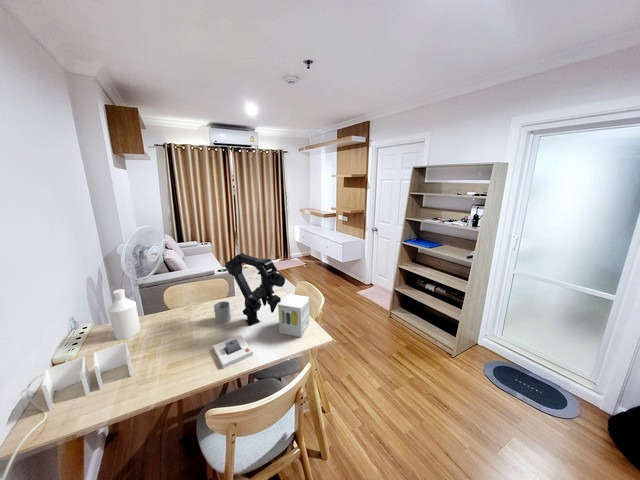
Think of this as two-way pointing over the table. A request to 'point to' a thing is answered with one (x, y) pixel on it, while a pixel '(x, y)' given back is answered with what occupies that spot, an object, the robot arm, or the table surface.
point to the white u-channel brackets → (84, 370)
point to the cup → (222, 312)
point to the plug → (232, 346)
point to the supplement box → (293, 315)
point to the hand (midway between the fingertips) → (268, 308)
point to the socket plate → (234, 357)
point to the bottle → (124, 316)
